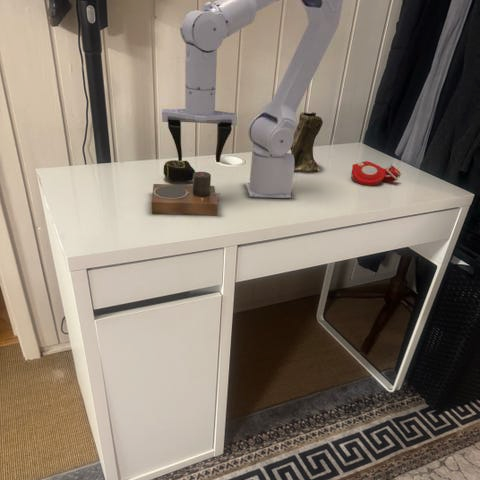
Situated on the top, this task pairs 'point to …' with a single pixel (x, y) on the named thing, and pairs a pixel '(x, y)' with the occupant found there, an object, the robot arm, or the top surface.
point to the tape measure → (178, 171)
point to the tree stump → (305, 141)
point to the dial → (201, 184)
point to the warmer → (185, 202)
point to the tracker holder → (373, 173)
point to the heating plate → (170, 192)
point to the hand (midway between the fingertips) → (198, 160)
